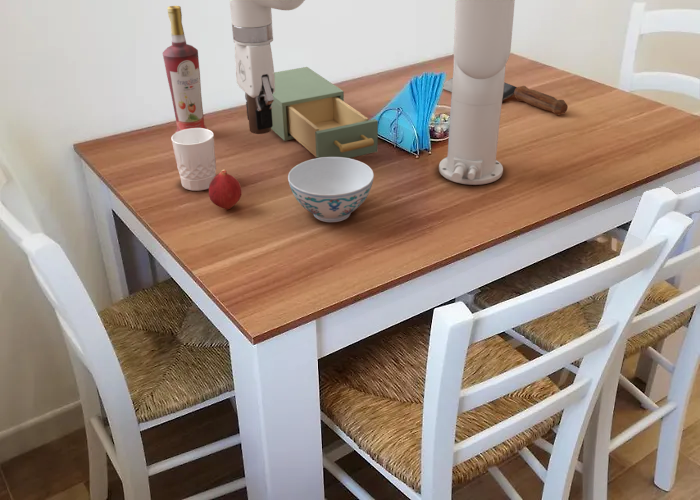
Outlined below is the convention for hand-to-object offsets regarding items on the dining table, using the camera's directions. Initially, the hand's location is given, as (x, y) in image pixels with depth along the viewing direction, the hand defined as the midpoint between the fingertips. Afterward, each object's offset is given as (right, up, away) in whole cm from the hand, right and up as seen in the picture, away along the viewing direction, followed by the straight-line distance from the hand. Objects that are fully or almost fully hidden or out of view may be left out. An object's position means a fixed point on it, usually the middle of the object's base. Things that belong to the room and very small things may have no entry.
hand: (260, 122), depth 144 cm
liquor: (-17, 0, +16) cm, 24 cm away
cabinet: (+6, +5, +23) cm, 24 cm away
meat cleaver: (+55, +11, +32) cm, 65 cm away
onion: (-4, -18, -13) cm, 23 cm away
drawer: (+15, -4, +8) cm, 17 cm away
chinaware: (+15, -19, -15) cm, 29 cm away
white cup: (-11, -13, -4) cm, 18 cm away
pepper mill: (0, -1, +1) cm, 2 cm away
